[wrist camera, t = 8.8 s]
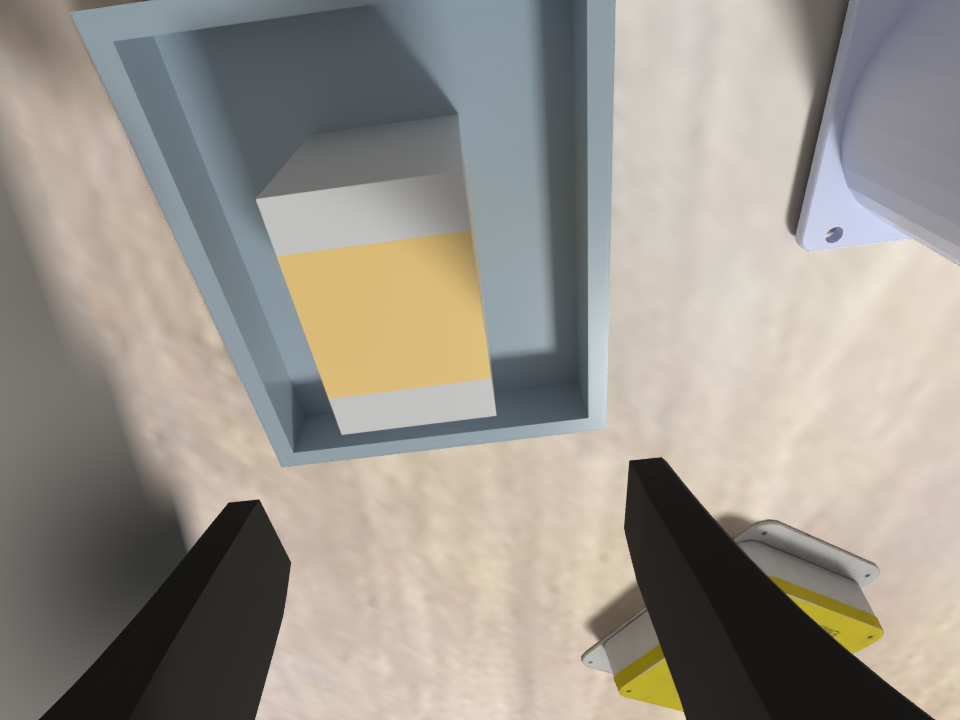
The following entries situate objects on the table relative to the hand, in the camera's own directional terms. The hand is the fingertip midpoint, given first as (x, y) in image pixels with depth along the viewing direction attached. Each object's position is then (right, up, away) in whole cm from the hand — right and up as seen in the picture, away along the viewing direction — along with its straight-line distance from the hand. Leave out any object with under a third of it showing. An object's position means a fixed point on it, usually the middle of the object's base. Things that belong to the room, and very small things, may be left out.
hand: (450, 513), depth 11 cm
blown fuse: (-2, +7, +5) cm, 9 cm away
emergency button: (+14, -11, +21) cm, 27 cm away
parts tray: (-2, +7, +6) cm, 9 cm away
